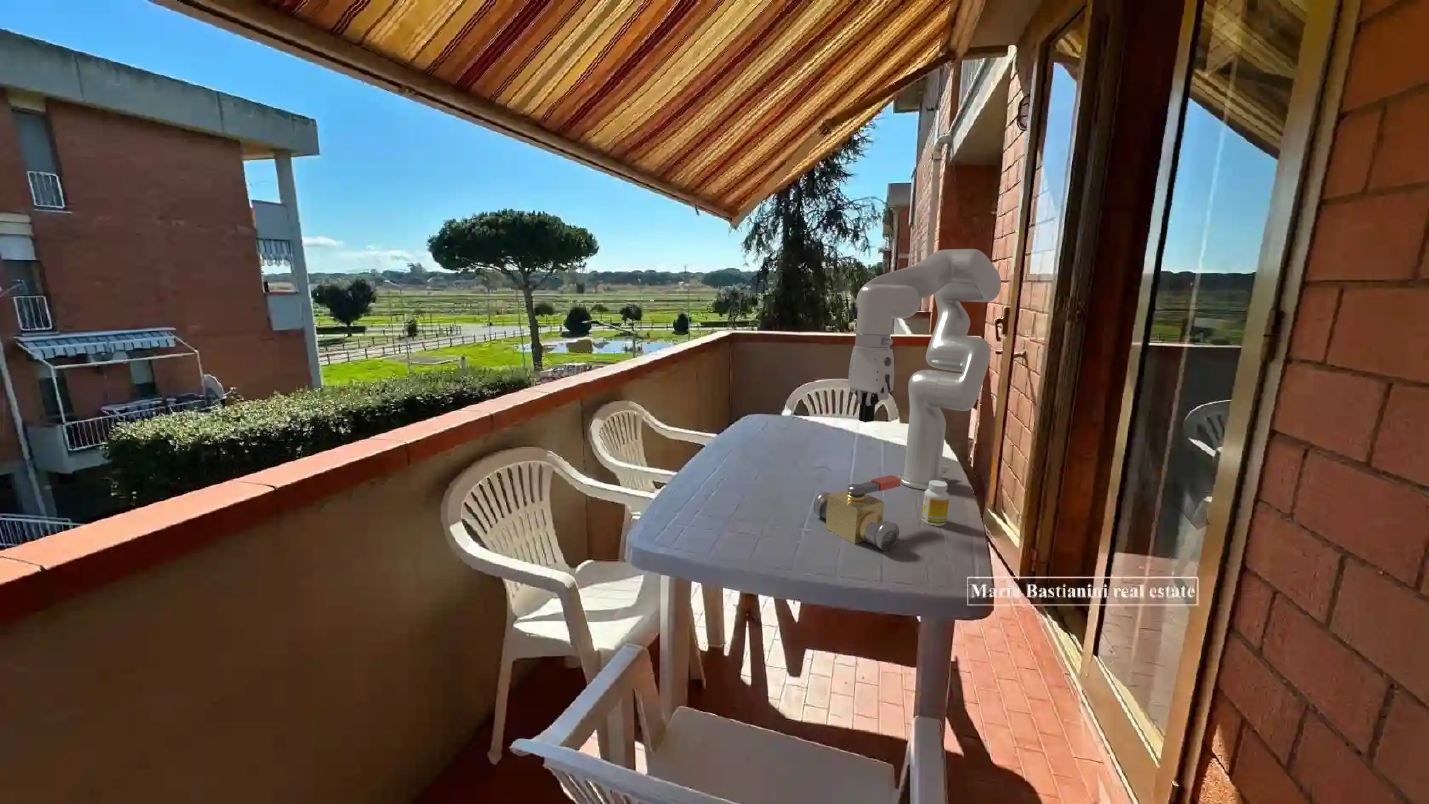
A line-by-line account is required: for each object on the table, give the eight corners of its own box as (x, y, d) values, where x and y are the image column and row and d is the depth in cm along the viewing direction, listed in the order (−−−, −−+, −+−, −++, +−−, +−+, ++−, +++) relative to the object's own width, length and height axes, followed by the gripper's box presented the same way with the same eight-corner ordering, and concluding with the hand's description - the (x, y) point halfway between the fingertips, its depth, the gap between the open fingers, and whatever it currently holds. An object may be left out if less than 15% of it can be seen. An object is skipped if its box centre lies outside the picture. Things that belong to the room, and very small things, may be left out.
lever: (856, 498, 121) (856, 490, 121) (844, 492, 124) (844, 484, 124) (901, 486, 129) (902, 479, 128) (889, 481, 132) (889, 474, 131)
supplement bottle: (916, 519, 133) (920, 480, 131) (933, 515, 135) (937, 477, 133) (934, 528, 128) (938, 488, 126) (951, 524, 131) (955, 485, 129)
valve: (809, 519, 132) (811, 483, 130) (835, 512, 136) (837, 477, 134) (874, 554, 115) (877, 514, 113) (901, 546, 119) (904, 507, 117)
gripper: (911, 344, 122) (903, 426, 126) (860, 337, 135) (854, 412, 139) (886, 346, 118) (879, 430, 122) (836, 339, 131) (831, 415, 135)
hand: (866, 420), depth 130 cm, fingers closed
